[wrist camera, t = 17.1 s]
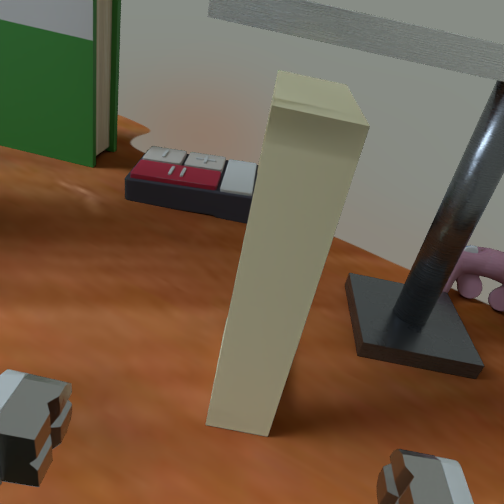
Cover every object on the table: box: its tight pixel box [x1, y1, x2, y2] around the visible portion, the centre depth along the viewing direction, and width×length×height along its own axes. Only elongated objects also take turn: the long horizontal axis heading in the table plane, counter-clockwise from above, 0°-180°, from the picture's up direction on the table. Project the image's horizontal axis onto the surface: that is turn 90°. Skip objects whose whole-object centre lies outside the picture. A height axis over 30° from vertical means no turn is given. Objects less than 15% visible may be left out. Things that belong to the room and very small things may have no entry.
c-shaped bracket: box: [206, 70, 370, 437], centre depth 27 cm, size 4×9×20 cm, turn 176°
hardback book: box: [0, 0, 121, 168], centre depth 54 cm, size 18×7×24 cm, turn 81°
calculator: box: [125, 146, 258, 223], centre depth 55 cm, size 11×4×15 cm
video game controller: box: [442, 246, 504, 311], centre depth 45 cm, size 10×5×7 cm, turn 63°
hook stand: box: [208, 0, 504, 379], centre depth 34 cm, size 26×10×24 cm, turn 86°
